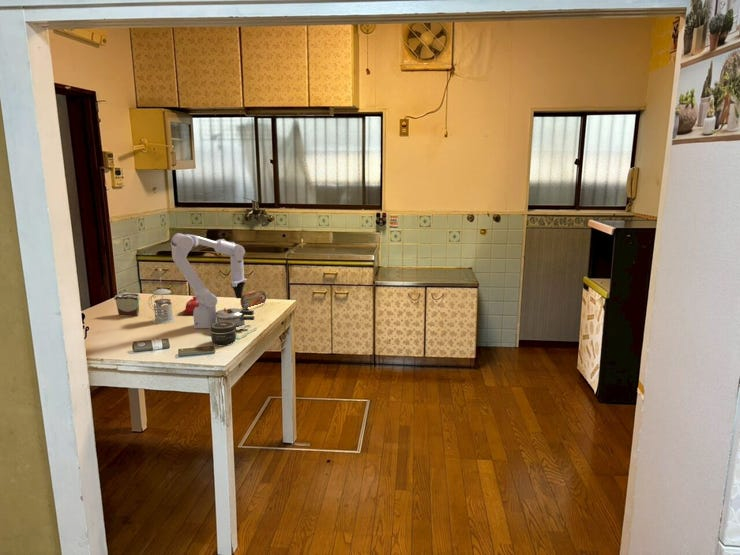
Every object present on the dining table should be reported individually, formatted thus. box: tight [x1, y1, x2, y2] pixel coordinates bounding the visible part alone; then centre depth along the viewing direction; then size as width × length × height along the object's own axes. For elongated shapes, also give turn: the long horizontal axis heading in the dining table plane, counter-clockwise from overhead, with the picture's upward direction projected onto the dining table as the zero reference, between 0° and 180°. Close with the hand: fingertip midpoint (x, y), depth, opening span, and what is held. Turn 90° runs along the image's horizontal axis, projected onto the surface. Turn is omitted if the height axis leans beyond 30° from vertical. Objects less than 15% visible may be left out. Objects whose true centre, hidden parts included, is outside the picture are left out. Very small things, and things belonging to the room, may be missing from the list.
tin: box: [240, 290, 267, 310], centre depth 261 cm, size 15×3×8 cm, turn 143°
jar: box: [210, 321, 237, 347], centre depth 211 cm, size 10×10×8 cm
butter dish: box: [181, 295, 199, 315], centre depth 252 cm, size 12×12×8 cm
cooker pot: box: [216, 315, 255, 327], centre depth 229 cm, size 16×12×6 cm
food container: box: [113, 292, 141, 317], centre depth 248 cm, size 12×6×10 cm, turn 84°
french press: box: [148, 268, 176, 325], centre depth 237 cm, size 10×12×25 cm
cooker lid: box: [215, 307, 255, 319], centre depth 228 cm, size 17×13×2 cm
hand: (239, 298), depth 240 cm, fingers closed
